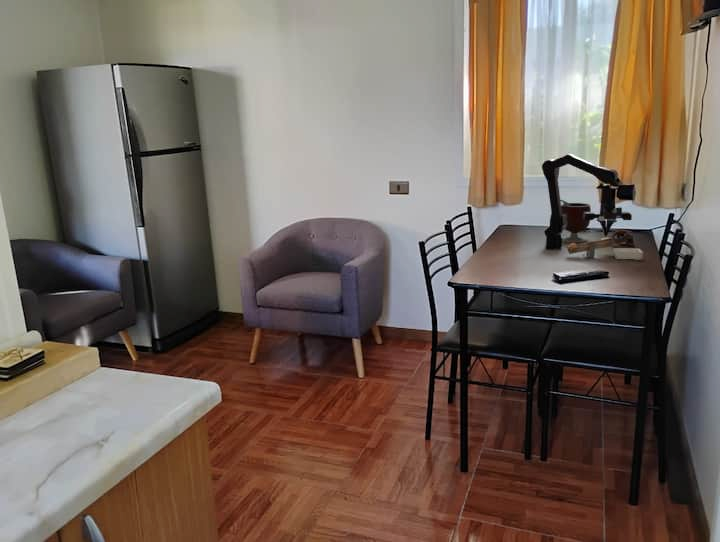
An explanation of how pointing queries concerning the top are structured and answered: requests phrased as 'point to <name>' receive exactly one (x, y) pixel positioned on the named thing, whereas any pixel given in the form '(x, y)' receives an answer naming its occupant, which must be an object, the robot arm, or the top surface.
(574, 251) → the tan flat board
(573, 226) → the mate gourd
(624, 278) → the top surface
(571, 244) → the ball
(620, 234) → the pottery mug
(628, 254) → the dish
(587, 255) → the fulcrum
